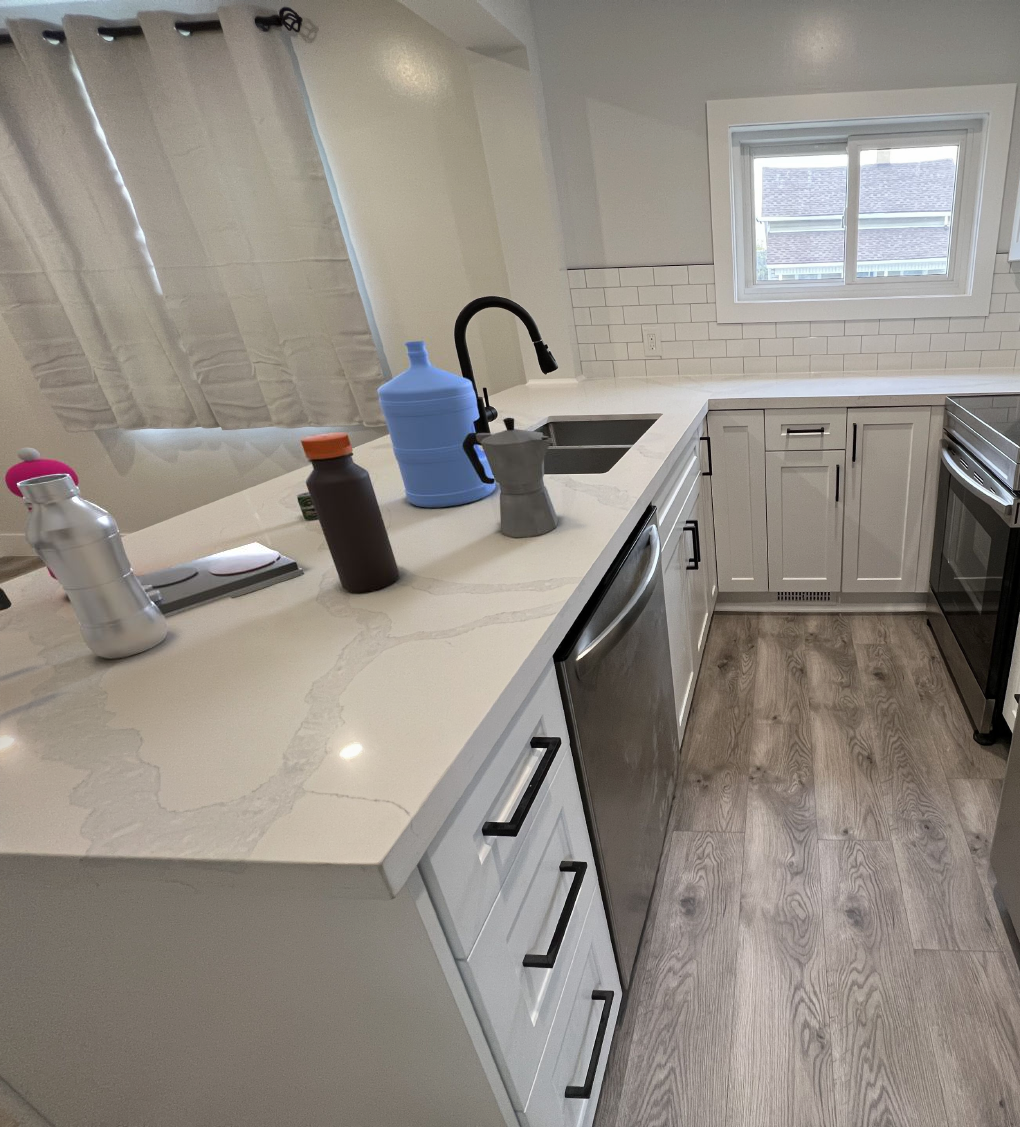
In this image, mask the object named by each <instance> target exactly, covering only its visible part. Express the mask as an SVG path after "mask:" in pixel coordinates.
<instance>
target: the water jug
mask: <svg viewBox="0 0 1020 1127" xmlns="http://www.w3.org/2000/svg"><path fill="white" fill-rule="evenodd" d="M404 345H405V346H406V350H407V351H406V354H407V357H408V361H409V367H408V368H407V369H406V370H404V371H403V372H401V373H400V374H398V375H397V376H395V377H393V378H391V379H390V380H388V381H387V382H385V383H384V384H382V385H381V386H379V387H378V389H377V395H378V401H379V405H380V409H381V412H382V414H383V416H384V420H385V423H386V426H387V430H388V433H389V434H388V435H389V437H390V441H391V444H392V450H393V455H394V458H395V460H396V461H397V465H398V469H399V472H400V476H401V479H402V482H403V485H404V493H405V496H406V499H407V501H408V502H409V503H410V504H412V505H414V506H417V507H421V508H428V509H429V508H431V509H432V508H435V509H436V508H437V509H438V508H449V507H456V506H461V505H465V504H470V503H474V502H477V501H478V500H482V499H484V498H486V497H488V496H490V495H491V494H492V493H493V492H494V491H495V489H496V481H494V483H493V484H485V483H483V482H482V481H481V480H480V478H479V476H478V474H477V473H476V471H475V469H474V467H473V465H472V463H471V462H470V460H469V458H468V456H467V455H466V453H465V451H464V449H463V446H462V445H463V442H464V440H465V438H466V437H467V435H468V434H469V433H476V428H475V423H474V422H475V421H477V420H478V419H479V418H480V413H479V408H478V400H477V396H476V392H475V390H474V386H473V382H472V381H471V380H470V379H469V378H467V377H463V376H461V375H458V374H456V373H452V372H449V371H447V370H444V369H441V368H438V367H435V366H433V365H432V364H431V362H430V359H429V353H428V350H427V349H426V341H424V340H423V341H422V340H421V341H418V340H417V341H407V342H404ZM474 448H475V450H476V452H477V455H478V457H479V460H480V462H481V463H482V465H483V466H484V469H485V474H486V476H487V477H489V478H494V476H493V473H492V471H491V468H490V466H489V463H488V461H487V458H486V455H485V453H484V450H483V449H482V448H480V445H474Z"/></svg>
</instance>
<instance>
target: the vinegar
mask: <svg viewBox="0 0 1020 1127" xmlns="http://www.w3.org/2000/svg"><path fill="white" fill-rule="evenodd" d="M300 443H301V446H302V449H303V452H304V455H305V458H306V459H307V462H308V463H311V465H312V470H311V472H309V475H308V476H307V478H306V480H305V485H306V488H307V491H308V492H309V494H310V497H311V499H312V502H313V505H314V508H315V511H316V514H317V516H318V519H317V520H318V521H319V525H320V527H321V531H322V532H323V536H324V539H325V542H326V544H327V548H328V550H329V553H330V555H331V558H332V561H333V564H334V567H335V570H336V572H337V576H338V578H339V581H340V584H341V587H342V588H343V589H344V591H346V592H349V593H353V594H354V593H355V594H356V593H357V594H359V593H369V592H375V591H377V590H378V591H379V590H381V589H384V588H386V587H388V586H390V585H392V584H394V583H395V582H396V581H397V580H398V579H399V578H400V570H399V568H398V565H397V560H396V557H395V554H394V552H393V548H392V545H391V542H390V538H389V535H388V531H387V529H386V525H385V522H384V518H383V515H382V512H381V509H380V506H379V503H378V499H377V495H376V492H375V488H374V486H373V483H372V480H371V476H370V473H369V471H368V470H367V469H365V468H364V467H362V466H360V465H359V464H357V463H355V462H354V460H353V456H354V453H353V450H354V449H353V447H352V443H351V441H350V437H349V435H348V433H346V432H325V433H319V434H318V433H317V434H313V435H309V436H305V437H303V438H301V439H300Z"/></svg>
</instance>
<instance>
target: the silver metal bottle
mask: <svg viewBox="0 0 1020 1127" xmlns="http://www.w3.org/2000/svg"><path fill="white" fill-rule="evenodd" d="M17 485H18V488H19V489H20V491H21V493H22V494H23V496H24V497H23V498H22V500H23V501H24V503H31V504H32V507H33V508H32V510H31V512H30V513H28V514H29V515H28V516H27V519H26V523H25V526H24V536H25V540H26V542H27V543H28V545H29V546H30V547H31V549H33V551H34V552H35V553H36V555H37V556H38V557H39V558H40V559H41V561H42V562H43V563H44V564H45V566H46V565H47V566H48V567H49V569H50V570H51V571H52V572H53V574H54V575H55V577H56V578H57V580H56V581H57V582H58V583H59V585H61V586H62V589H63V591H64V592H65V593H66V595H67V597H68V599H69V601H70V603H71V606H72V609H73V611H74V613H75V615H76V618H77V620H78V622H79V625H78V626H79V630H80V633H81V636H82V640H83V642H84V644H85V645H86V646H87V648H88V649H89V650H90V651H91V652H92V653H93V654H94V655H95V656H98V657H101V658H104V659H107V660H110V659H111V660H115V659H121V658H122V659H123V658H128V657H130V656H134V655H137V654H141V653H142V652H145V651H148V650H150V649H152V648H154V647H156V646H157V645H159V644H160V643H162V642H163V641H164V640H165V639H166V637H167V635H168V632H169V626H168V623H167V617H164V615H163V614H162V612H161V611H160V610H159V608H158V607H157V606H156V605H155V604H154V603H153V602H152V601H151V600H150V598H149V597H148V595H147V594H146V592H145V590H144V589H143V587H142V586H141V584H140V583H139V581H138V580H137V578H136V577H137V576H136V574H135V571H134V569H133V568H132V567H131V562H130V560H129V558H128V554H127V553H126V550H125V547H124V543H123V540H122V536H121V533H120V530H119V526H118V524H117V521H116V519H115V517H114V516H112V515H111V513H110V512H109V511H107V510H106V509H104V508H102V507H100V506H99V505H97V504H95V503H93V502H91V501H88V500H87V499H85V498H82V497H81V498H80V497H79V495H78V493H80V494H81V492H82V491H81V490H80V488H79V487H78V485H77V486H76V485H75V483H74V481H73V479H72V478H71V476H70V475H69V474H56V475H48V476H42V477H37V478H32V479H28V480H24V481H21V482H19V483H17ZM47 566H46V567H47Z"/></svg>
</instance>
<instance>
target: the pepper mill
mask: <svg viewBox="0 0 1020 1127" xmlns="http://www.w3.org/2000/svg"><path fill="white" fill-rule="evenodd" d="M17 457H18V458H19V459H20V460H21V462H18V463H16V464H13V465H12V466H10V468H9V469H8V470H7V471H6V473H5V476H4V480H5V485H6V487H7V489H8V490H9V492H11V494H14V495H15V496H17V497H18V498H21V499H23V497H24V496H23V494H22V493H21V491H20V489H19V488H18V485H17V483H19V482H21V481H24V480H28V479H32V478H37V477H42V476H48V475H56V474H69V475H70V476H71V478H72V479H73V481H74V483H75V485H76V486H77V487H78V486H79V477H78V475H77V473H76V471H75V470H74V469H73V468H72V467H71V466H70V465H68V464H66V463H64V462H62V461H60V460H57V459H50V458H41V454H40V452H39V451H38V450H37V449H36V448H33V447H27V446H26V447H22V448H20V449H19V450H18V451H17ZM78 495H79V497H80V498H82V493H81V492H80V493H78ZM23 505H24V507H25V508H27V510H28V514H30V512H31V510H32V508H33V507H32V504H31V503H26V502H24V504H23ZM45 566H46V568H47V571H48V573H49V576H50V577H51V578H53V579H54V580H56V581H58V580H57V578H56V577H55V575H54V574H53V572H52V571H51V570H50V569H49V567H48V566H47V565H46V564H45Z"/></svg>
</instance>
